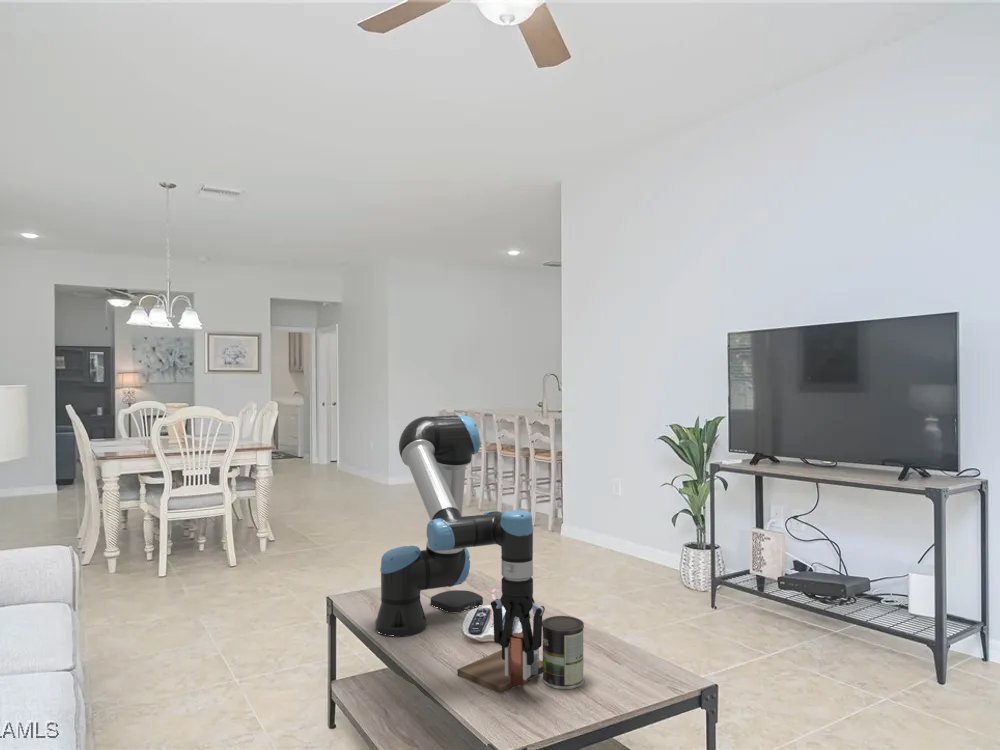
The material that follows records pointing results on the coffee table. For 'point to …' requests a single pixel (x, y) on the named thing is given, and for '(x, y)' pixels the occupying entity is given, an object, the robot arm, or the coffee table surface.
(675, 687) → the coffee table surface
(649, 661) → the coffee table surface
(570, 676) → the coffee can
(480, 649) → the coffee table surface
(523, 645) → the lever
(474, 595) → the media streaming box
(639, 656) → the coffee table surface
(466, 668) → the board
